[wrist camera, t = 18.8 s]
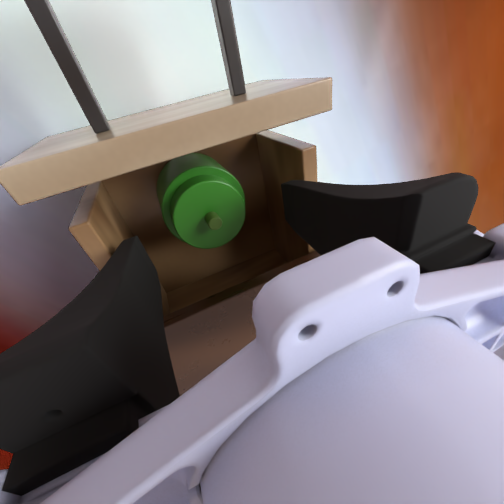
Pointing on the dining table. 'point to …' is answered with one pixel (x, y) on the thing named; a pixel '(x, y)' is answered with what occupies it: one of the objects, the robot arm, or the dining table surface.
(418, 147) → the dining table surface
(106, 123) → the drawer
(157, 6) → the dining table surface
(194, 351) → the cabinet
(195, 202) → the green lidded jar
